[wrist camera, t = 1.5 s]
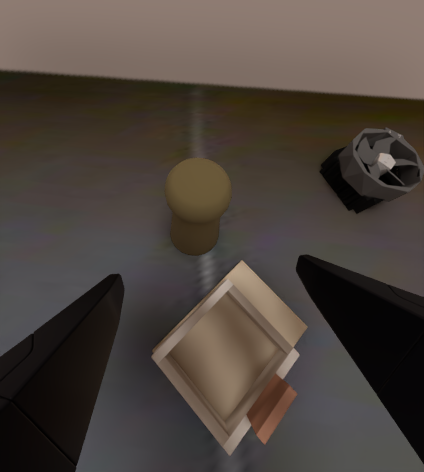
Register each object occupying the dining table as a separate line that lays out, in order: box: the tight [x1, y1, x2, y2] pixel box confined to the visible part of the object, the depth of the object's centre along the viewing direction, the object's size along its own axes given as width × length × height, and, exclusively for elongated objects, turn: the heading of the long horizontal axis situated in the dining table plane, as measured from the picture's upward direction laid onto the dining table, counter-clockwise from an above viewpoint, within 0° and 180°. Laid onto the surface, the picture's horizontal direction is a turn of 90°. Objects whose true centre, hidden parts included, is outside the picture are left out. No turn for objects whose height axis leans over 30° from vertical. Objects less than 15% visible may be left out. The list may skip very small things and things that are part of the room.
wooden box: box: [151, 261, 307, 456], centre depth 17 cm, size 13×10×6 cm
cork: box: [165, 158, 232, 256], centre depth 18 cm, size 6×6×11 cm
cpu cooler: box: [320, 128, 424, 213], centre depth 27 cm, size 10×6×10 cm
